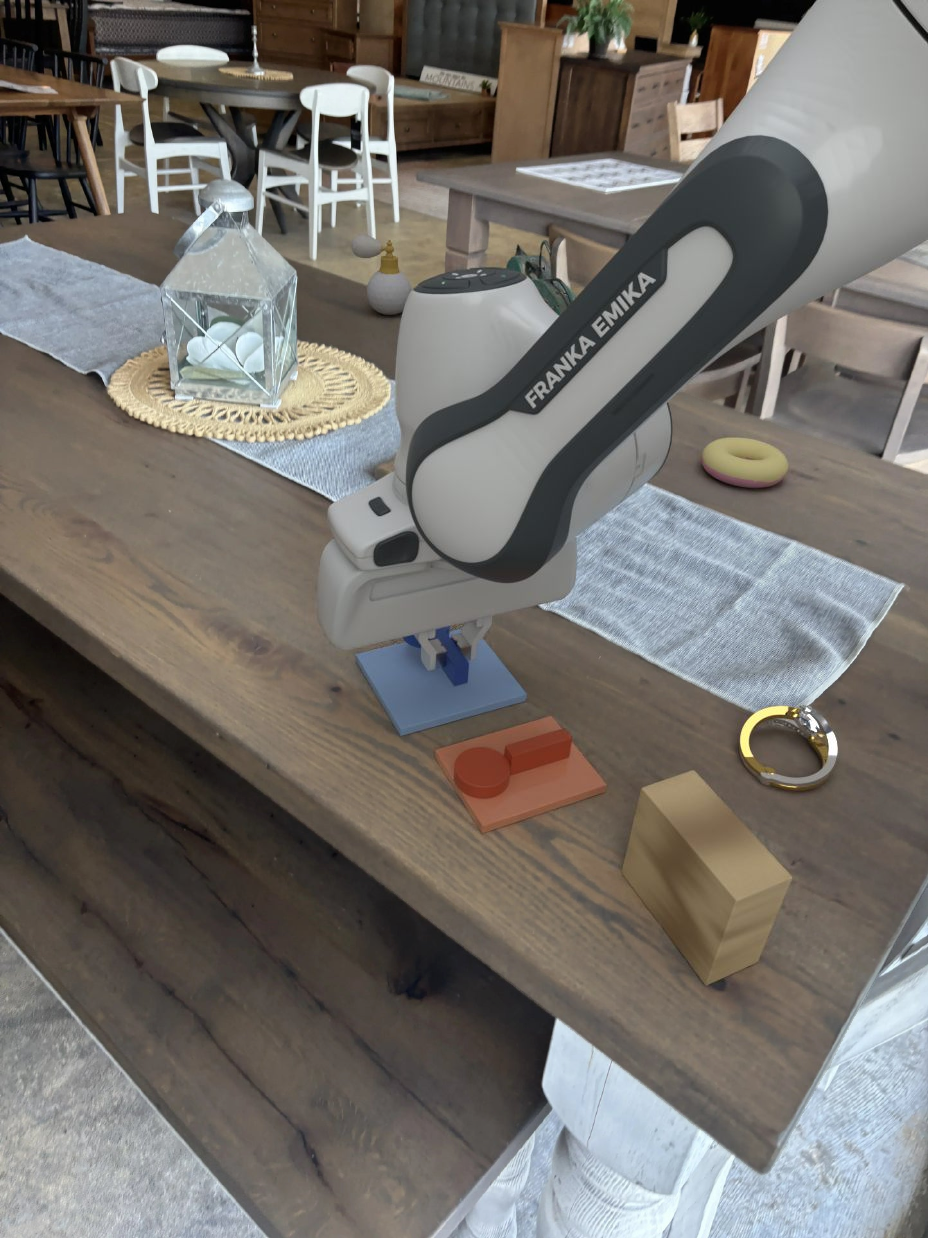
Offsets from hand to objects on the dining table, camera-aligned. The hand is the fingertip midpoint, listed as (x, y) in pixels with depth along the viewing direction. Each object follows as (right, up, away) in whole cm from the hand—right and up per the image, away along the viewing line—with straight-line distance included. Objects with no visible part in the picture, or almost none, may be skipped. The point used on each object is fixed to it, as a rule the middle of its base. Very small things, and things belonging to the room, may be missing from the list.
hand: (448, 661), depth 72 cm
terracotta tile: (+5, -8, -5) cm, 11 cm away
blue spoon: (-1, 0, +1) cm, 2 cm away
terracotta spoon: (+5, -7, -6) cm, 11 cm away
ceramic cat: (+12, +35, +55) cm, 66 cm away
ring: (+23, -9, -5) cm, 25 cm away
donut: (+35, +21, +38) cm, 55 cm away
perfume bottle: (-12, +55, +81) cm, 99 cm away
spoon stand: (+15, -15, -15) cm, 26 cm away
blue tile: (-1, -2, +3) cm, 4 cm away
